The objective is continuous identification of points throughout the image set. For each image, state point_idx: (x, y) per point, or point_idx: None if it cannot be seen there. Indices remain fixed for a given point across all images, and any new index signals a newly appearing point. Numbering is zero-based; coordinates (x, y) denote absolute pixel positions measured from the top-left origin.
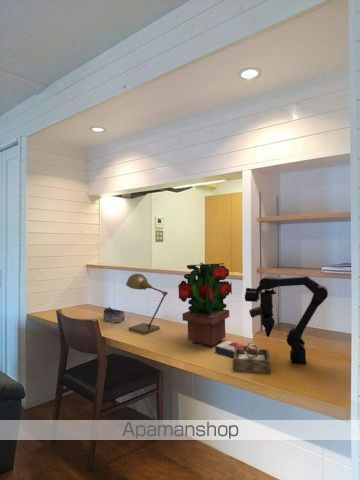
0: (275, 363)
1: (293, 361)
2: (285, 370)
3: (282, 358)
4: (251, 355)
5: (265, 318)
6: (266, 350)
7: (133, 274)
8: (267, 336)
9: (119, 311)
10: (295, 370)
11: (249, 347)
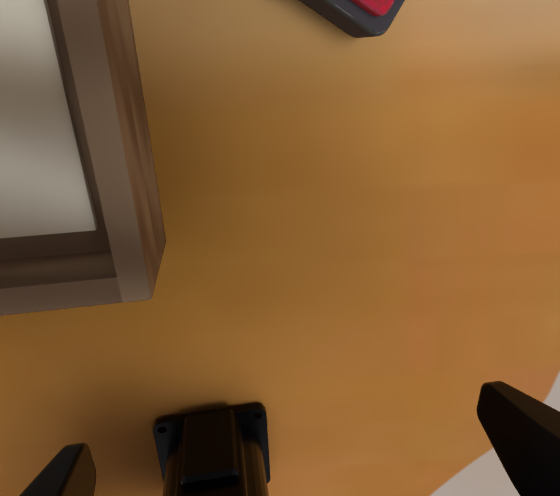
0: None
1: (176, 430)
2: None
3: (253, 348)
4: (24, 56)
5: None
6: (104, 282)
7: None
8: (67, 459)
9: None
10: (18, 442)
11: (381, 16)
